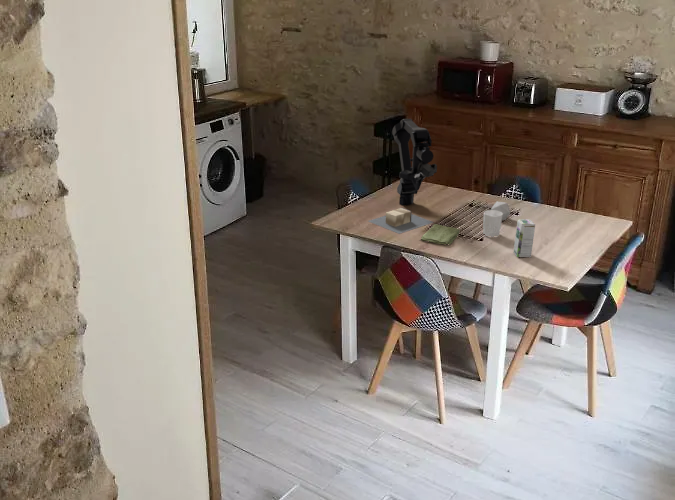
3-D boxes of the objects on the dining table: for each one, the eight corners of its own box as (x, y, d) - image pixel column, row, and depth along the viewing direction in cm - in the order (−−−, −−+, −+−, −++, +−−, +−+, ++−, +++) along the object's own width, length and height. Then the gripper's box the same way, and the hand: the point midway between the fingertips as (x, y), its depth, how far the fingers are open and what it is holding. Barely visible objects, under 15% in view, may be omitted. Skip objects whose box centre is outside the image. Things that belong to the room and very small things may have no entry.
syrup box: (512, 252, 286) (516, 219, 280) (527, 252, 286) (531, 218, 280) (517, 258, 280) (521, 224, 275) (531, 257, 281) (536, 223, 275)
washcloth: (419, 242, 296) (419, 235, 295) (433, 229, 311) (433, 222, 309) (448, 247, 291) (449, 240, 289) (461, 234, 305) (462, 227, 304)
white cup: (501, 232, 306) (503, 211, 302) (499, 239, 299) (501, 217, 295) (483, 230, 308) (485, 209, 304) (480, 236, 301) (482, 215, 297)
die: (511, 218, 324) (503, 199, 325) (514, 215, 315) (506, 196, 316) (494, 225, 324) (486, 206, 325) (497, 222, 315) (489, 202, 317)
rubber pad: (402, 212, 328) (402, 210, 328) (433, 224, 314) (434, 222, 314) (367, 223, 315) (367, 221, 315) (399, 236, 301) (399, 233, 301)
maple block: (402, 207, 316) (386, 212, 310) (411, 211, 312) (395, 216, 306) (401, 218, 318) (385, 223, 312) (411, 221, 314) (395, 226, 308)
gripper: (417, 164, 304) (415, 198, 310) (446, 157, 315) (444, 190, 321) (399, 159, 311) (397, 192, 318) (428, 152, 323) (426, 184, 329)
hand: (417, 190), depth 321 cm, fingers closed
